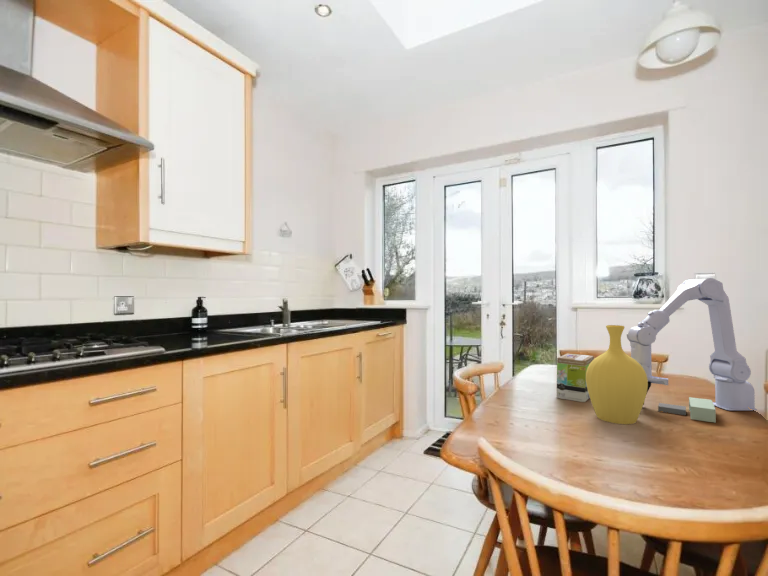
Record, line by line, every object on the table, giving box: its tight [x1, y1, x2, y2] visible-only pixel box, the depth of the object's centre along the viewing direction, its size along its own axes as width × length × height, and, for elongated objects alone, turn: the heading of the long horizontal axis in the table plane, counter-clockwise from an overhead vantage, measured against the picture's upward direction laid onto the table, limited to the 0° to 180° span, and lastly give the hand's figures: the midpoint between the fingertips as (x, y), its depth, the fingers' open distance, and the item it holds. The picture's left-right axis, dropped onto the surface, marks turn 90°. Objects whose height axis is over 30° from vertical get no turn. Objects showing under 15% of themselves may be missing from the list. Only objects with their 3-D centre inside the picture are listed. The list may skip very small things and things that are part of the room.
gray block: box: [657, 402, 687, 416], centre depth 126 cm, size 7×5×2 cm
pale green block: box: [688, 396, 717, 424], centre depth 121 cm, size 6×13×4 cm, turn 144°
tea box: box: [556, 353, 595, 403], centre depth 144 cm, size 15×10×15 cm, turn 143°
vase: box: [586, 324, 648, 425], centre depth 118 cm, size 16×16×28 cm
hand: (641, 403), depth 130 cm, fingers closed
